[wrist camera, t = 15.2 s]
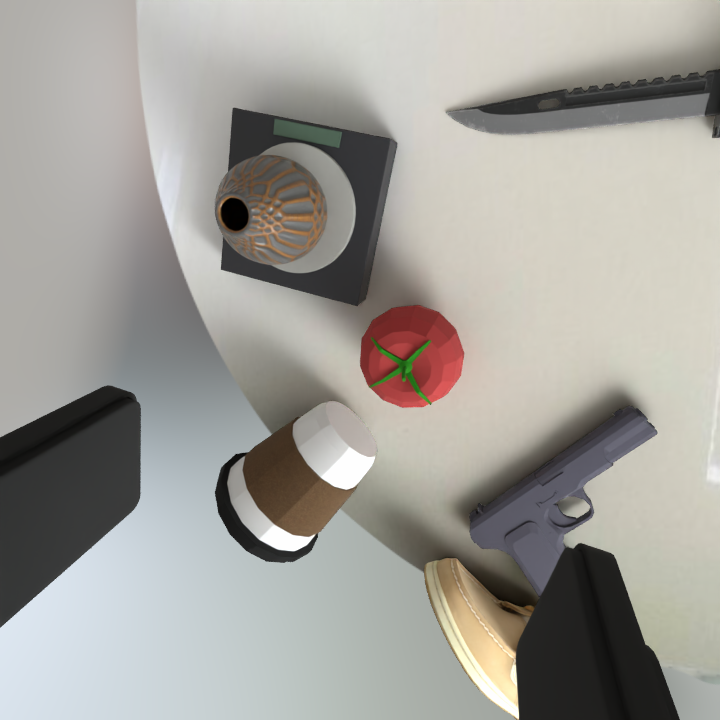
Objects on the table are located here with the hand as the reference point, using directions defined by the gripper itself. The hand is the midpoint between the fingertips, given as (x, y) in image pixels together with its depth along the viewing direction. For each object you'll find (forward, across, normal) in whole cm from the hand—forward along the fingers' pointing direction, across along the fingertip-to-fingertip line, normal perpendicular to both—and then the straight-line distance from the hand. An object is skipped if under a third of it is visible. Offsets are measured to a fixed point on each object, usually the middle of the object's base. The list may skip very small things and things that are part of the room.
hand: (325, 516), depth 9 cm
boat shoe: (+24, -14, +33) cm, 43 cm away
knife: (+28, -9, -14) cm, 33 cm away
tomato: (+28, +1, +5) cm, 29 cm away
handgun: (+27, -22, +19) cm, 40 cm away
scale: (+28, +12, -3) cm, 31 cm away
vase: (+25, +12, -3) cm, 28 cm away
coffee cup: (+25, +4, +13) cm, 28 cm away
